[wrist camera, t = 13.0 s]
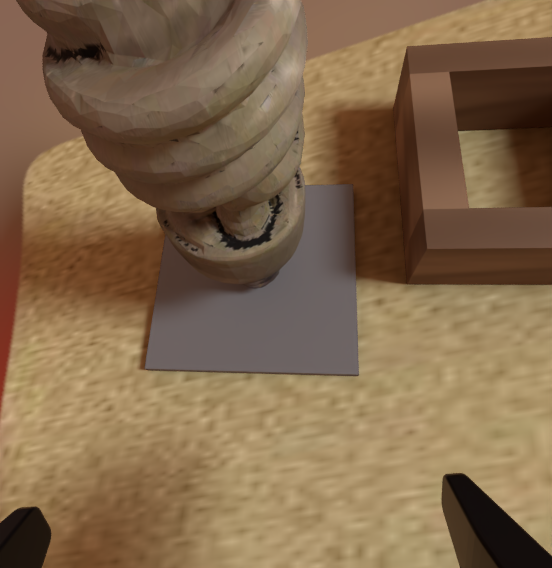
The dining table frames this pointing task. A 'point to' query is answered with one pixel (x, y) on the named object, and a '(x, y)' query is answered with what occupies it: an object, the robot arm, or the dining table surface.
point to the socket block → (449, 168)
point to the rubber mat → (267, 305)
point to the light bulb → (192, 117)
